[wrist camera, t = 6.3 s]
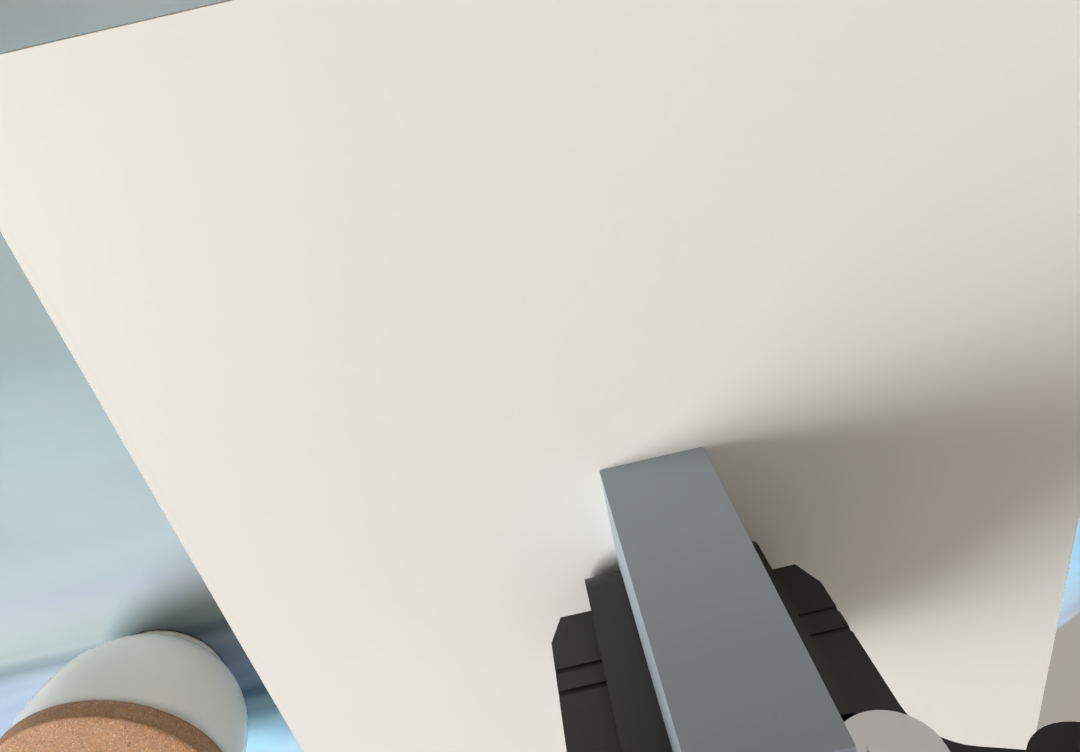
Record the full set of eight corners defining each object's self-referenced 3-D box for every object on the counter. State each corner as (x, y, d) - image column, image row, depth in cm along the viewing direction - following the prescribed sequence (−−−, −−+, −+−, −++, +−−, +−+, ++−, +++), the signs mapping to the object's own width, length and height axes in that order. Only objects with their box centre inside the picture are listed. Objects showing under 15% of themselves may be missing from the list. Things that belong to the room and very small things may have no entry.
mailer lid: (23, 48, 10) (-707, 227, 4) (1062, -195, 10) (2148, -438, 4) (418, 835, 20) (405, 1269, 13) (957, 713, 20) (1208, 1090, 13)
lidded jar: (147, 772, 44) (70, 950, 35) (14, 647, 40) (-110, 816, 31) (309, 699, 43) (271, 865, 34) (190, 562, 38) (112, 714, 30)
